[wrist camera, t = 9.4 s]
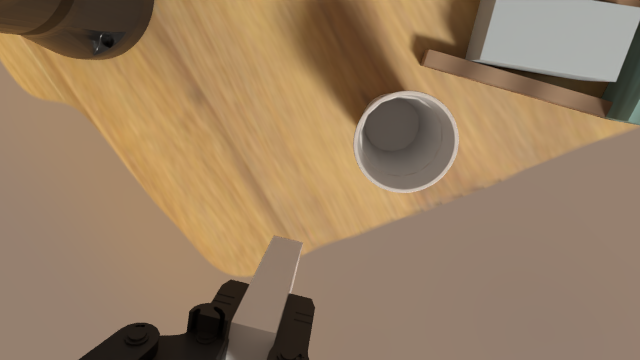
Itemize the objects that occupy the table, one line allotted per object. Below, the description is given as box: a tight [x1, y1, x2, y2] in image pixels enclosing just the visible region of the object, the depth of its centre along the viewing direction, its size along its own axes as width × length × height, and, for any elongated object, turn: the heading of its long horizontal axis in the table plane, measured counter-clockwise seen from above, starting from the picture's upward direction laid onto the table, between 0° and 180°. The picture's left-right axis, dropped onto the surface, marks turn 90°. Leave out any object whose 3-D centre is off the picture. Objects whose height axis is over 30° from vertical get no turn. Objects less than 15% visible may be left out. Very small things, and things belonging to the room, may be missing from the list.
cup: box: [353, 91, 459, 193], centre depth 34 cm, size 8×8×12 cm
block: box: [465, 0, 640, 82], centre depth 34 cm, size 12×6×5 cm, turn 81°
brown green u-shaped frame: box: [420, 0, 640, 125], centre depth 33 cm, size 20×11×5 cm, turn 74°
